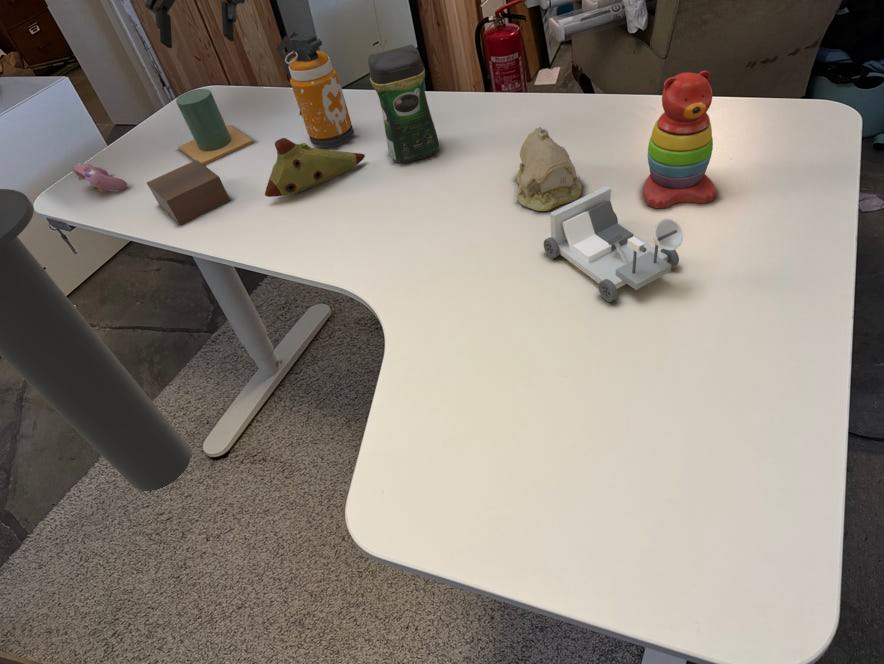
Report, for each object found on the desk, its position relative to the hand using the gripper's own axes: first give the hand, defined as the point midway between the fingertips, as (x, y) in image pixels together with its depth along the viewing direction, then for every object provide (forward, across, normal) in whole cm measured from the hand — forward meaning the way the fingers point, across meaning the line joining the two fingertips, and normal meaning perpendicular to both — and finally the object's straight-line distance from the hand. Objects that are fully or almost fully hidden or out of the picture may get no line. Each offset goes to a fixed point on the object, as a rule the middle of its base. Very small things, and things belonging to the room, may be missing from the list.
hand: (197, 41), depth 123 cm
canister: (+21, -26, -4) cm, 33 cm away
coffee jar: (+27, -45, +3) cm, 52 cm away
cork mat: (+20, 0, -5) cm, 20 cm away
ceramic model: (+39, -70, +14) cm, 81 cm away
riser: (+36, -4, +11) cm, 38 cm away
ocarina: (+33, -28, +9) cm, 44 cm away
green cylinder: (+19, 0, -4) cm, 20 cm away
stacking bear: (+41, -90, +17) cm, 100 cm away
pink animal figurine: (+30, +18, +5) cm, 35 cm away
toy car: (+54, -79, +30) cm, 100 cm away
